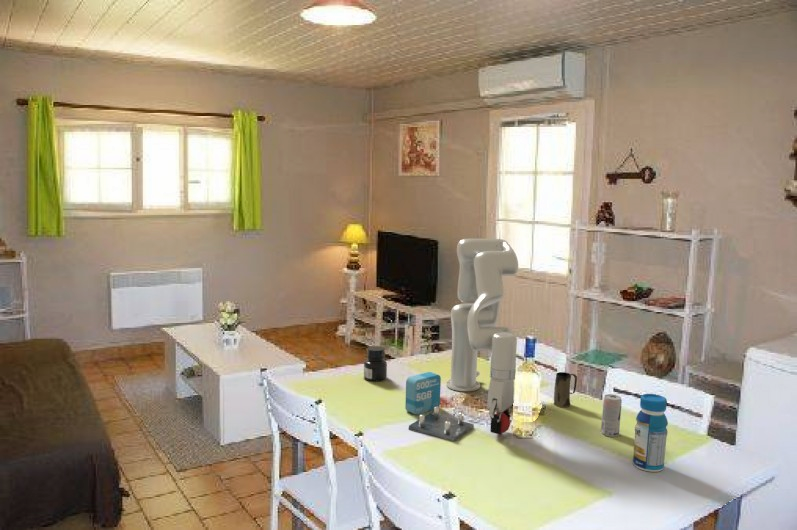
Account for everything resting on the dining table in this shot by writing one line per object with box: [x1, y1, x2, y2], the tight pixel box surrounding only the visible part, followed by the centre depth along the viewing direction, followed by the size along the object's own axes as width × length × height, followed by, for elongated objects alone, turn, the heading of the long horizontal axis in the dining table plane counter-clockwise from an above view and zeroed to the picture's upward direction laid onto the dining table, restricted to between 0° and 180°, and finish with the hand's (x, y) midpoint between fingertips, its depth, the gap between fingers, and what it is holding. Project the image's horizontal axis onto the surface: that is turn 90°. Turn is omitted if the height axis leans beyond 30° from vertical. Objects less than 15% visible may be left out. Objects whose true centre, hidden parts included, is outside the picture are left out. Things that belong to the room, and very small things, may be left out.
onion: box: [495, 411, 511, 435], centre depth 202 cm, size 6×6×8 cm
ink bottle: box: [363, 345, 388, 382], centre depth 253 cm, size 10×9×12 cm
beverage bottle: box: [632, 393, 669, 473], centre depth 181 cm, size 8×8×20 cm
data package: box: [404, 371, 442, 415], centre depth 221 cm, size 12×4×12 cm, turn 130°
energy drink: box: [600, 393, 623, 438], centre depth 204 cm, size 5×5×12 cm
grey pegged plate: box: [408, 406, 475, 442], centre depth 205 cm, size 13×16×5 cm
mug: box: [553, 371, 578, 409], centre depth 228 cm, size 8×6×12 cm
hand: (500, 429), depth 202 cm, fingers closed on onion, 5 cm apart
